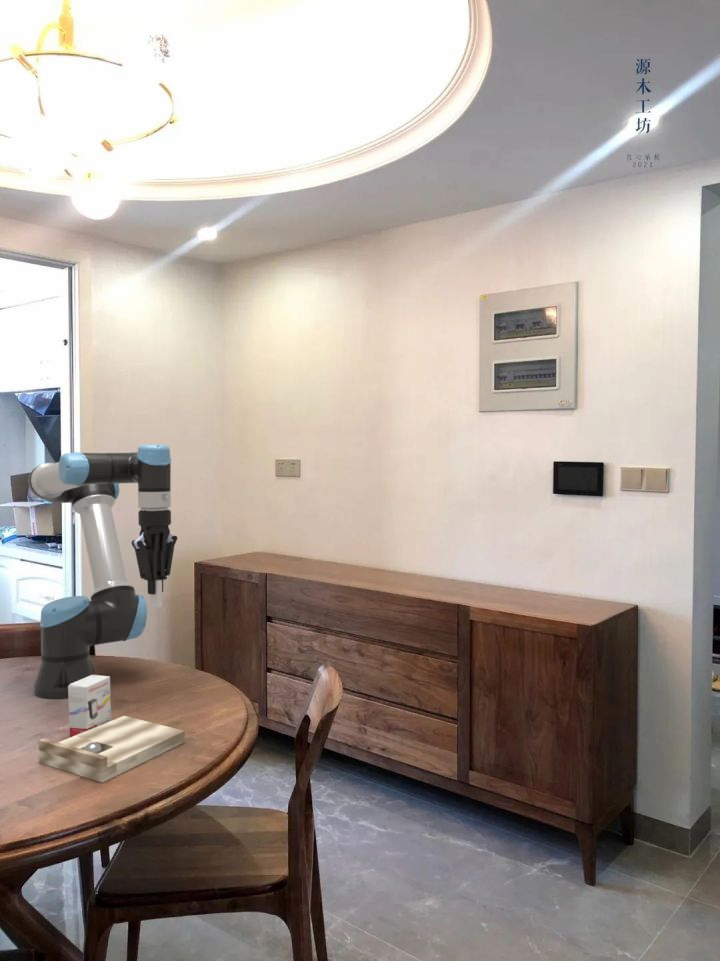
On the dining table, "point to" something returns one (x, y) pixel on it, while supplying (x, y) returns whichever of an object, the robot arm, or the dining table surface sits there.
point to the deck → (110, 748)
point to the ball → (93, 748)
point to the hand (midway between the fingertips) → (155, 606)
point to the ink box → (89, 703)
